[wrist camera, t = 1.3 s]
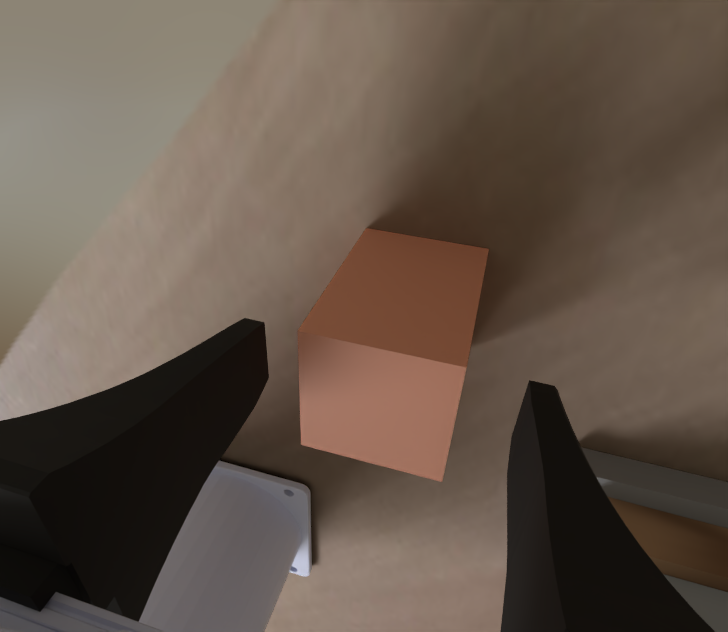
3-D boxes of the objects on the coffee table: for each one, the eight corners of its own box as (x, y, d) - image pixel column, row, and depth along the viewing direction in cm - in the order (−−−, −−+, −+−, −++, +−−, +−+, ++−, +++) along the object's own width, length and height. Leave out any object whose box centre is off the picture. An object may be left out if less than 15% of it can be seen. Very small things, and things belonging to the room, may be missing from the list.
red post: (360, 325, 19) (300, 445, 14) (366, 227, 17) (297, 330, 12) (467, 348, 18) (441, 482, 14) (489, 248, 16) (466, 367, 11)
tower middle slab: (535, 594, 23) (535, 640, 22) (587, 491, 19) (592, 539, 17) (717, 649, 22) (730, 703, 20) (819, 552, 17) (846, 611, 16)
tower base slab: (519, 557, 25) (517, 597, 24) (570, 430, 20) (572, 470, 19) (720, 614, 24) (733, 661, 22) (832, 491, 18) (860, 542, 17)
